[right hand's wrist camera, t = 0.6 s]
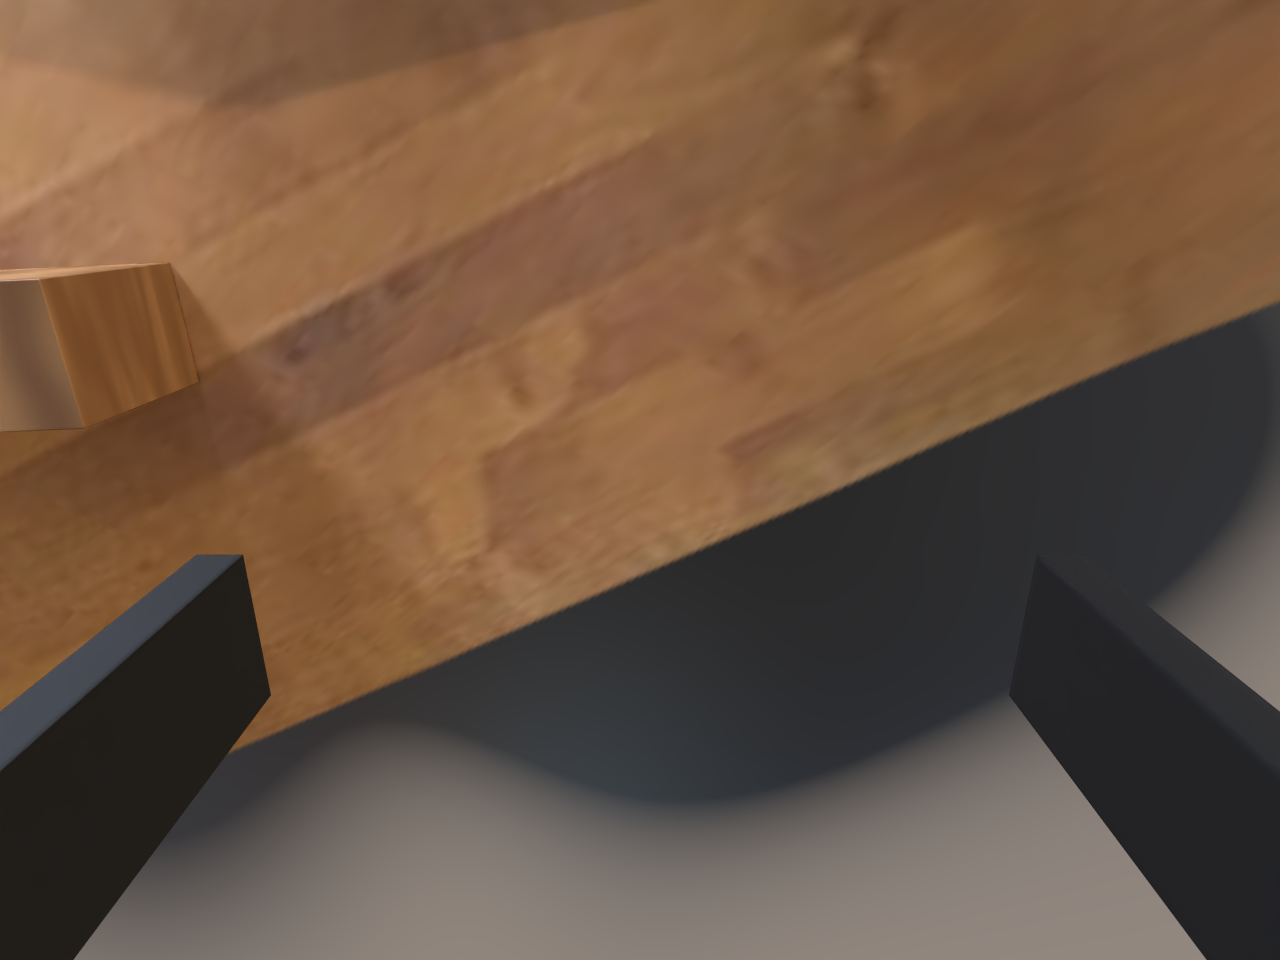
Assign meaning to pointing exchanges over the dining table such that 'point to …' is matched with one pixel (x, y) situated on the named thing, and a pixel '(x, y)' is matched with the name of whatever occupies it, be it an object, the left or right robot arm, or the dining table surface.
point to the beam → (88, 344)
